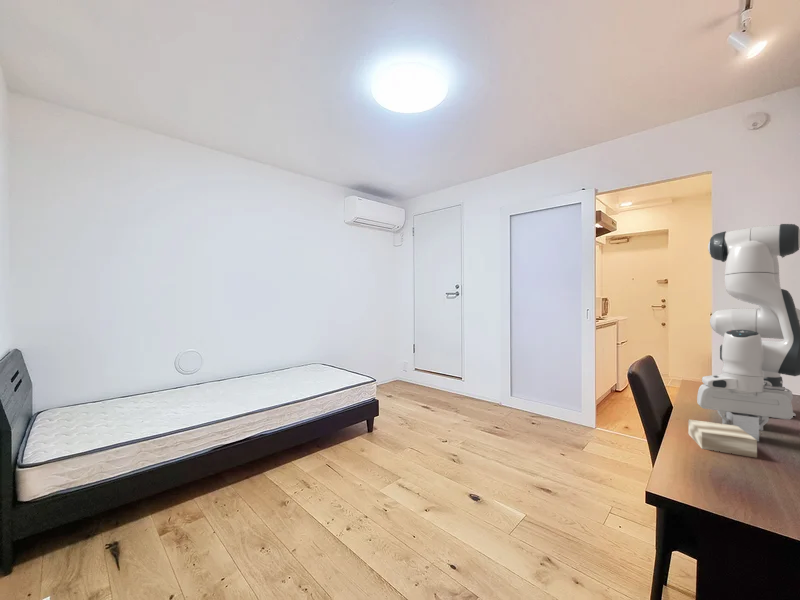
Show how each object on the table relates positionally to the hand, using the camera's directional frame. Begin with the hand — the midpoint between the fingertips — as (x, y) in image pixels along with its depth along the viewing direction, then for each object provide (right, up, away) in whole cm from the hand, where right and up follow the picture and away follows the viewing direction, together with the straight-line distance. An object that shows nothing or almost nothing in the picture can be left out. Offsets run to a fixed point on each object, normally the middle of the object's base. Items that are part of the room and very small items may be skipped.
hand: (742, 427), depth 97 cm
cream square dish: (-13, -3, -6) cm, 15 cm away
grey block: (0, -3, 0) cm, 3 cm away
